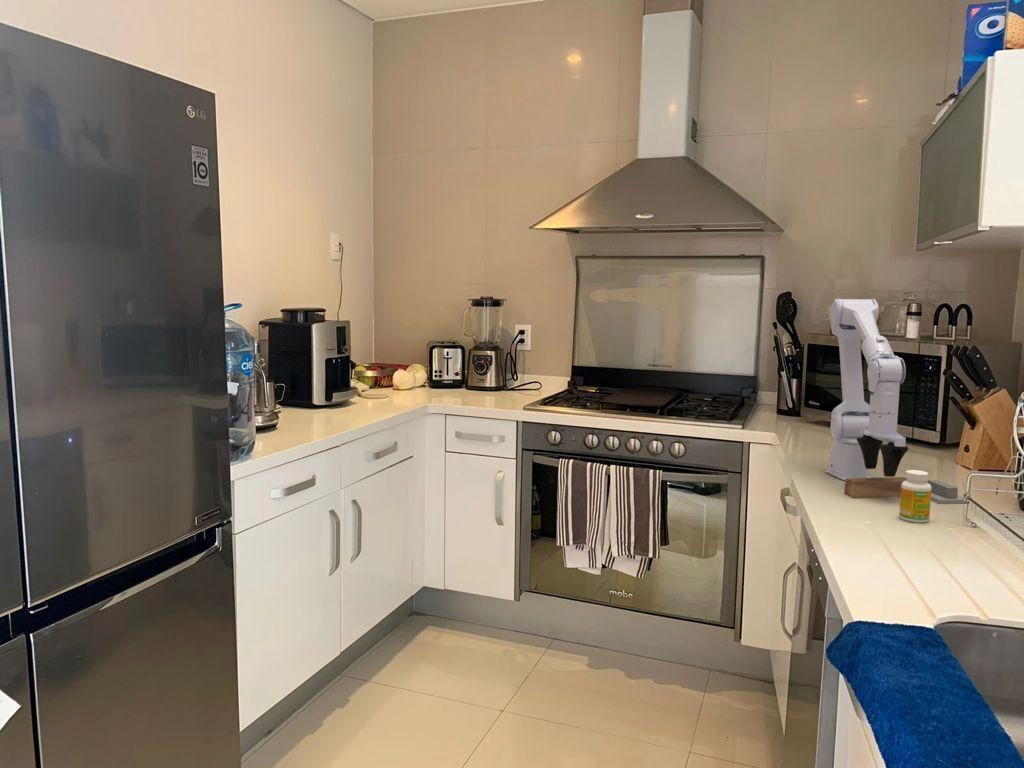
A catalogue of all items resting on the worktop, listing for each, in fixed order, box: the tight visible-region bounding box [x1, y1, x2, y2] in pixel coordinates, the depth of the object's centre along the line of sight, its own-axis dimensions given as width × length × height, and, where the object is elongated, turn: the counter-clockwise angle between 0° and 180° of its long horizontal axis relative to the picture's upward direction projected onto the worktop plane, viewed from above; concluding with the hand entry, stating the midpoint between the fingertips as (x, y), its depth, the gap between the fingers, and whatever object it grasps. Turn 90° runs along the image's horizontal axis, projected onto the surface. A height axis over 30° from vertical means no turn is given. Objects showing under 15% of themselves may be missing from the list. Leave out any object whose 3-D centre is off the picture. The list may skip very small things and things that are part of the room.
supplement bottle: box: [898, 469, 932, 524], centre depth 155 cm, size 5×5×10 cm
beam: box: [844, 476, 907, 499], centre depth 174 cm, size 4×14×4 cm, turn 95°
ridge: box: [927, 479, 965, 505], centre depth 172 cm, size 9×7×3 cm
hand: (879, 472), depth 173 cm, fingers open, 7 cm apart
